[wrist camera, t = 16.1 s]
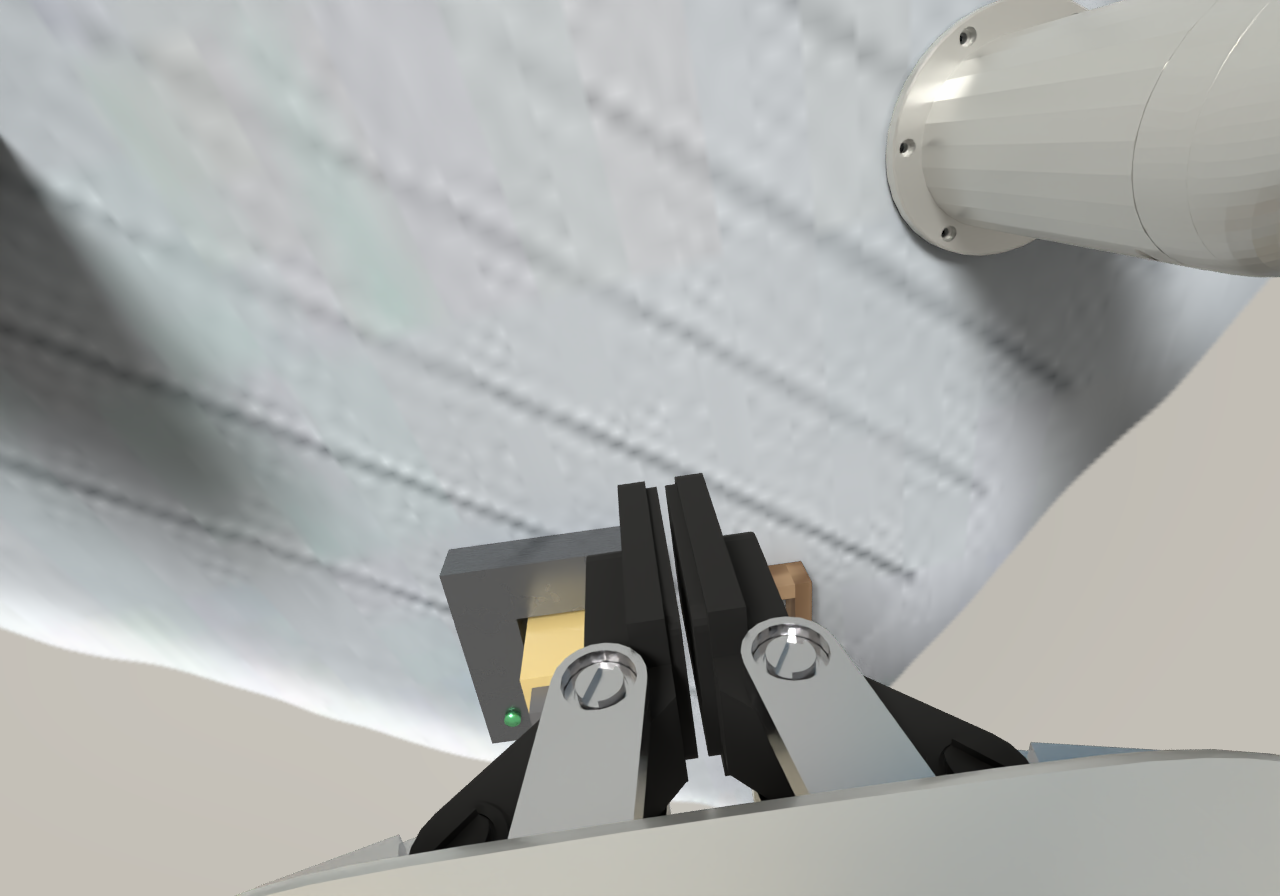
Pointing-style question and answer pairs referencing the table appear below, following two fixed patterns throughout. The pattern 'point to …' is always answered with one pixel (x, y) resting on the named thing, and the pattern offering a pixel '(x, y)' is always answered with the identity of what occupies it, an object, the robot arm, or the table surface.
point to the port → (514, 610)
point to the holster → (794, 588)
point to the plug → (547, 654)
